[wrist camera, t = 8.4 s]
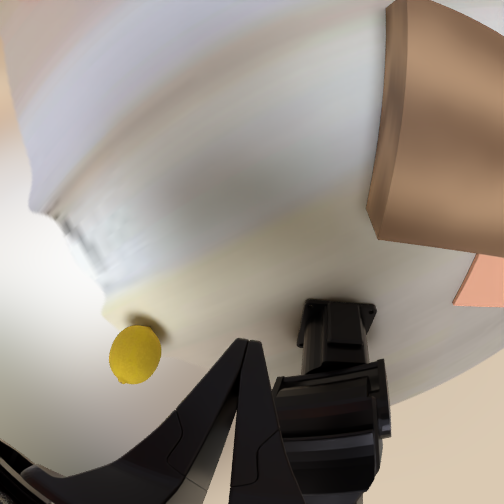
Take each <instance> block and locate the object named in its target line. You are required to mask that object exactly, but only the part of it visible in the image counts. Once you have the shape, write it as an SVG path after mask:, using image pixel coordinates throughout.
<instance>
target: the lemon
mask: <svg viewBox="0 0 504 504" xmlns="http://www.w3.org/2000/svg"><path fill="white" fill-rule="evenodd" d="M160 358H161V344H160V341H159V339H158V337H157V336H156V334H155V333H154V332H153V331H152V329H151V328H150V327H148V326H146V327H144V326H140V325H134V326H130V327H127V328H125V329H124V330H123V331H121V332H120V333H119V334H118V335H117V337H116V338H115V340H114V342H113V344H112V347H111V350H110V355H109V363H110V367H111V370H112V371H113V373H114V375H115V376H116V377H117V378H118V381H119V382H120V383H122V384H125V383H128V384H138V383H142V382H144V381H146V380H147V379H148V378H149V377H150V376H151V375H152V374H153V373H154V371H155V370H156V368H157V366H158V364H159V361H160Z"/></svg>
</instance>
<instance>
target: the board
mask: <svg viewBox="0 0 504 504" xmlns="http://www.w3.org/2000/svg"><path fill="white" fill-rule="evenodd" d="M366 210H367V213H368V215H369V218H370V220H371V223H372V225H373V228H374V231H375V234H376V236H377V239H378V240H385V241H393V242H400V243H408V244H415V245H423V246H430V247H437V248H444V249H451V250H457V251H464V252H470V253H477V254H483V255H489V256H496V257H502V258H504V36H502V35H501V34H499V33H498V32H496V31H494V30H492V29H491V28H489V27H487V26H485V25H483V24H482V23H480V22H478V21H476V20H474V19H472V18H470V17H468V16H466V15H464V14H462V13H460V12H457V11H455V10H453V9H451V8H448V7H446V6H444V5H441V4H439V3H436V2H433V1H431V0H395V1H394V2H393V3H392V4H390V5H389V6H388V7H387V8H386V55H385V75H384V89H383V100H382V111H381V120H380V128H379V136H378V143H377V150H376V156H375V163H374V169H373V175H372V180H371V186H370V191H369V196H368V201H367V206H366Z"/></svg>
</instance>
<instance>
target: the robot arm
mask: <svg viewBox="0 0 504 504" xmlns="http://www.w3.org/2000/svg"><path fill="white" fill-rule="evenodd" d="M309 305H312V306H309ZM370 310H372V311H370ZM376 312H377V310H376V306H374V305H366V304H354V303H343V302H332V301H321V300H307V301H305V304H304V309H303V314H302V320H301V325H300V330H299V334H298V339H297V346H298V347H299V348H303V359H302V371H301V375H298V376H290V377H284V376H282V377H277V379H276V382H275V384H274V387H273V389H272V390H271V385H270V380H269V376H268V371H267V366H266V362H265V357H264V352H263V347H262V343H261V342H260V341H256V340H250V341H249V340H248V339H242V338H237V339H236V340H235V341H234V342H233V343H232V344H231V345H230V347H229V348H228V349H227V350H226V351H225V353H224V354H223V355H222V356H221V357H220V358H219V360H218V361H217V362H216V363H215V364H214V366H213V367H212V368H211V369H210V370H209V371H208V373H207V374H206V375H205V376H204V377H203V378H202V379H201V381H200V382H199V383H198V384H197V385H196V386H195V388H194V389H193V390H192V391H191V392H190V393H189V394H188V395H187V397H186V398H185V399H184V400H183V401H182V402H181V403H180V404H179V405H178V407H177V408H176V410H174V411H173V412H172V413H171V414H170V415H169V416H168V418H167V419H166V420H165V421H164V422H163V423H162V424H161V425H160V426H159V427H158V428H157V429H156V430H154V431H153V432H152V433H151V434H150V435H148V436H147V437H146V438H145V439H144V440H143V441H141V442H140V443H139V444H137V445H136V446H135V447H134V448H133V449H131V450H130V451H129V452H127V453H126V454H125V455H123V456H122V457H121V458H119V459H118V460H116V461H114V462H112V463H110V464H107V465H104V466H102V467H99V468H95V469H92V470H89V471H86V472H83V473H80V474H76V475H72V476H68V477H65V476H63V475H61V474H59V473H57V472H54V471H52V470H50V469H48V468H46V467H44V466H42V465H39V464H34V463H33V462H32V461H30V460H29V459H28V458H27V457H26V456H24V455H23V454H22V453H20V452H19V451H18V450H16V449H15V448H14V447H12V446H11V445H10V444H8V443H6V442H5V441H3V440H2V439H0V504H203V501H204V498H205V496H206V493H207V490H208V488H209V485H210V482H211V480H212V477H213V475H214V472H215V469H216V467H217V464H218V461H219V458H220V456H221V453H222V450H223V447H224V445H225V442H226V438H227V436H228V433H229V430H230V428H231V424H232V422H233V419H234V416H235V413H236V410H237V415H236V426H235V439H234V449H233V460H232V472H231V484H230V487H231V488H230V494H229V503H228V504H363V493H364V492H366V491H367V490H368V489H369V487H370V486H371V484H372V482H373V481H374V477H375V476H376V474H377V473H378V471H379V469H380V462H381V456H382V449H383V443H382V439H384V438H389V437H391V416H390V401H389V391H388V382H387V376H386V369H385V363H384V359H379V360H377V361H376V362H371V363H369V355H368V346H367V337H366V335H367V333H368V331H369V328H370V326H371V324H372V322H373V319H374V317H375V315H376Z"/></svg>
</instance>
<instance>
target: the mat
mask: <svg viewBox="0 0 504 504" xmlns="http://www.w3.org/2000/svg"><path fill="white" fill-rule="evenodd" d="M452 303H453V305H455V306H480V307H504V258H502V257H496V256H489V255H483V254H476V256H475V259H474V261H473V263H472V265H471V267H470V269H469V272H468V274H467V276H466V278H465V280H464V282H463V284H462V285H461V287H460V289H459V291H458V293H457V295H456V297H455V299H454V300H453V302H452Z"/></svg>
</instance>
